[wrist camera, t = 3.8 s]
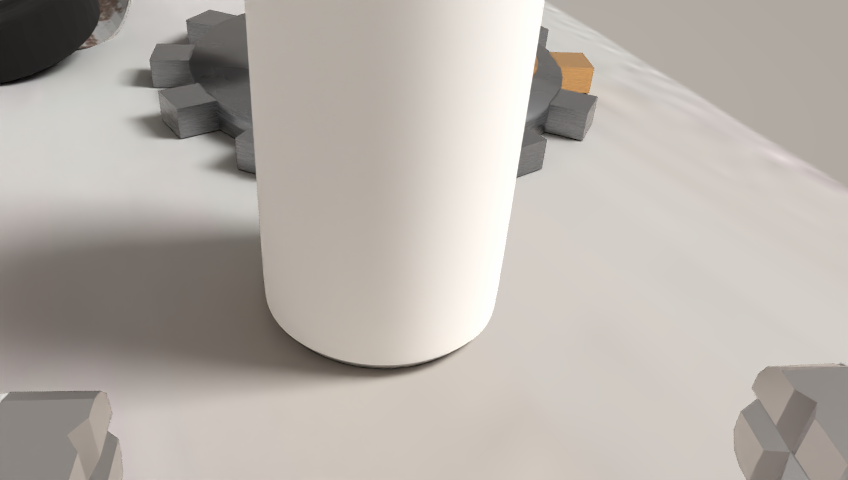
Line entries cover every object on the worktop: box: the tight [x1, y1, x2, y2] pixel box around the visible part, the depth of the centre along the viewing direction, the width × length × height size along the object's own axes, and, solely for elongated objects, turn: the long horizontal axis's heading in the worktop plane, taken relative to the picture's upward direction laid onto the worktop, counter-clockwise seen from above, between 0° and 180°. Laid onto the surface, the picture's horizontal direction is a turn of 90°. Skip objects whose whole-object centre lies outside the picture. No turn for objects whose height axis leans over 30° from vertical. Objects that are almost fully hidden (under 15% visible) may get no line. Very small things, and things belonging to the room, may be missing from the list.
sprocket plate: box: [150, 10, 598, 177], centre depth 33 cm, size 19×19×1 cm
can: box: [245, 0, 545, 368], centre depth 18 cm, size 6×6×12 cm
